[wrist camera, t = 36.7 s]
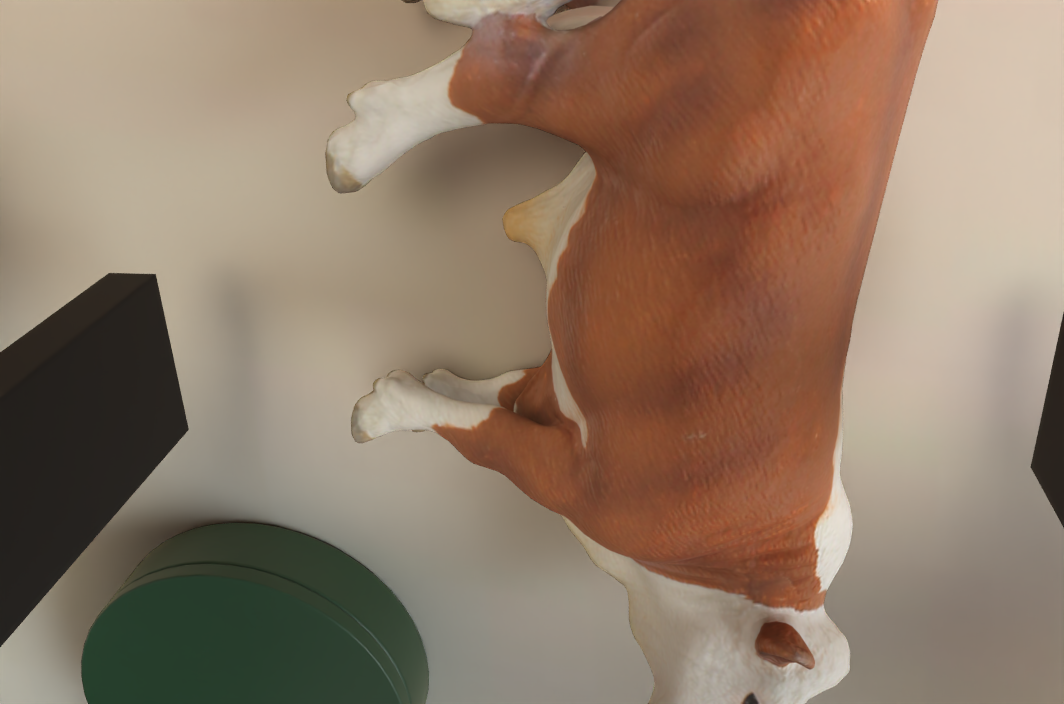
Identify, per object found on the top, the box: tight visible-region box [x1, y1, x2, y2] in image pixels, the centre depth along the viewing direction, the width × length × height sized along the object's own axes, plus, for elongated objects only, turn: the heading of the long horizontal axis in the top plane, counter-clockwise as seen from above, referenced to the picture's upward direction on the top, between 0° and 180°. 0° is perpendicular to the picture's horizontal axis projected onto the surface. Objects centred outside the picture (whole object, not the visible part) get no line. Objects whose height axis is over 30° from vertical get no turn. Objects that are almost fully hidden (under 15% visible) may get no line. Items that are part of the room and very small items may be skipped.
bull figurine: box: [325, 0, 938, 704], centre depth 15 cm, size 4×13×8 cm
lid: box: [81, 523, 429, 704], centre depth 22 cm, size 7×7×2 cm
